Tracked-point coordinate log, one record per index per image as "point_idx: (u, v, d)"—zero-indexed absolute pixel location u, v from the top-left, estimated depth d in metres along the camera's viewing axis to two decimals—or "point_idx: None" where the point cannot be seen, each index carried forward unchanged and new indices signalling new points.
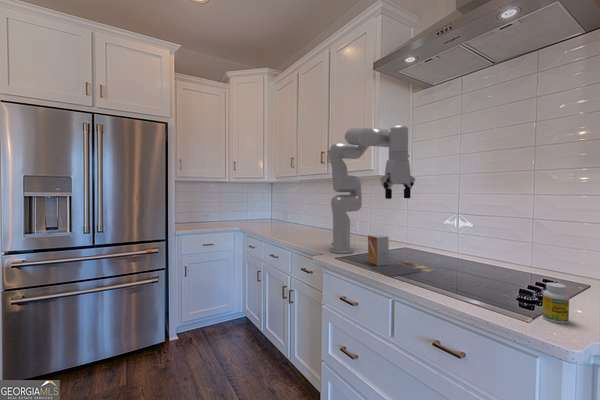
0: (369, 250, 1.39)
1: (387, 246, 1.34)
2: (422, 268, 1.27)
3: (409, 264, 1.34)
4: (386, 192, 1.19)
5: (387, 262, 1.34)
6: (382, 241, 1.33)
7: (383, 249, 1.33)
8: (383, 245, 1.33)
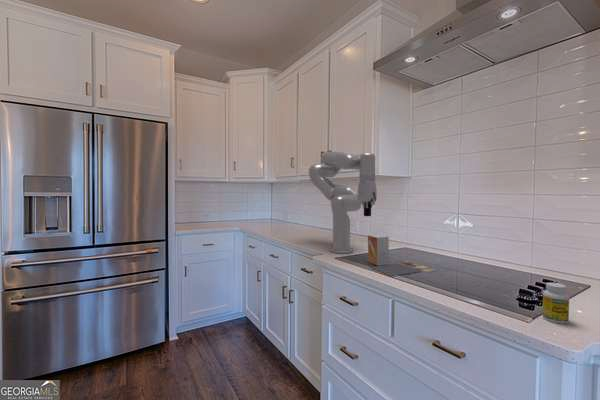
0: (369, 250, 1.39)
1: (387, 246, 1.34)
2: (422, 268, 1.27)
3: (409, 264, 1.34)
4: (369, 211, 1.43)
5: (387, 262, 1.34)
6: (382, 241, 1.33)
7: (383, 249, 1.33)
8: (383, 245, 1.33)
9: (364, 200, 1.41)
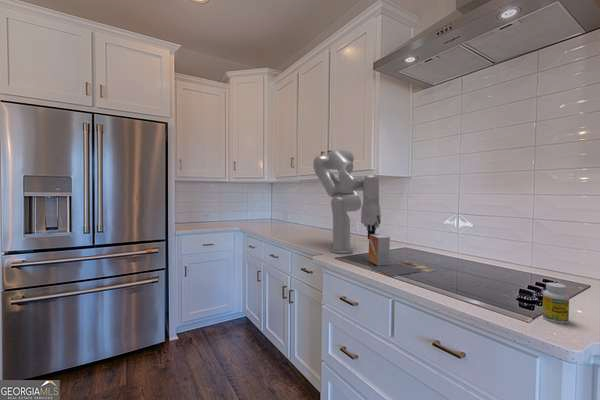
0: (370, 249, 1.38)
1: (388, 246, 1.33)
2: (422, 268, 1.27)
3: (409, 264, 1.34)
4: None
5: (387, 262, 1.34)
6: (383, 241, 1.32)
7: (384, 249, 1.33)
8: (384, 245, 1.32)
9: (368, 223, 1.39)
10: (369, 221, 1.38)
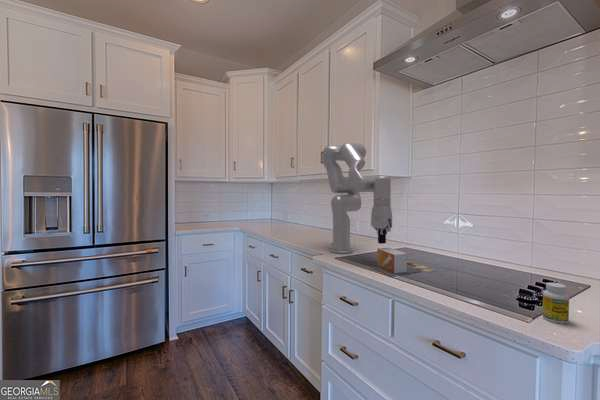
0: (384, 254, 1.27)
1: None
2: (422, 268, 1.27)
3: (409, 264, 1.34)
4: (383, 238, 1.33)
5: None
6: None
7: None
8: None
9: (379, 226, 1.32)
10: (380, 224, 1.31)
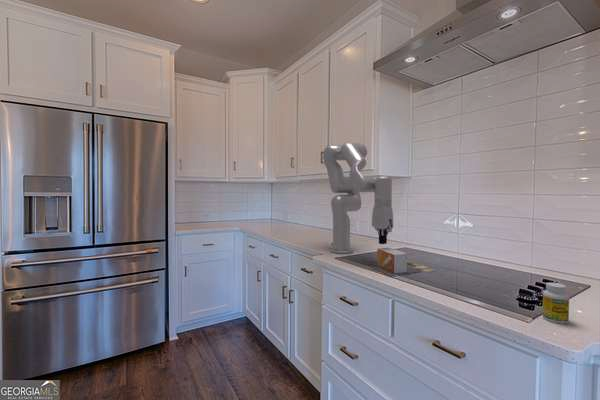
0: (384, 254, 1.27)
1: None
2: (422, 268, 1.27)
3: (409, 264, 1.34)
4: (384, 238, 1.32)
5: None
6: None
7: None
8: None
9: (380, 227, 1.31)
10: (381, 225, 1.30)
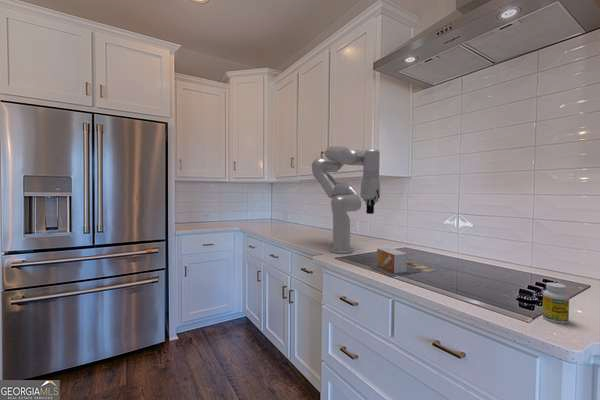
0: (384, 254, 1.27)
1: None
2: (422, 268, 1.27)
3: (409, 264, 1.34)
4: (371, 208, 1.40)
5: None
6: None
7: None
8: None
9: (367, 197, 1.39)
10: (368, 195, 1.38)
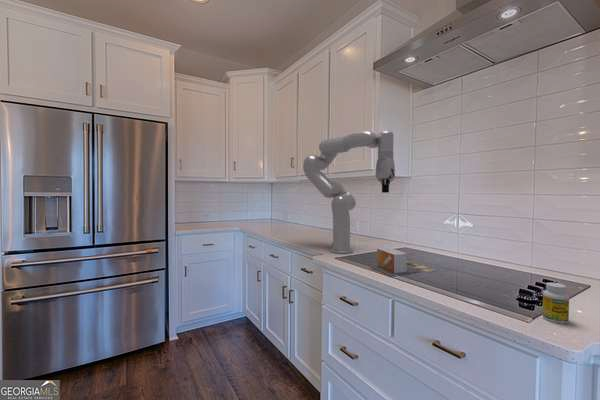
0: (384, 254, 1.27)
1: None
2: (422, 268, 1.27)
3: (409, 264, 1.34)
4: (387, 187, 1.48)
5: None
6: None
7: None
8: None
9: (382, 177, 1.47)
10: (384, 174, 1.46)
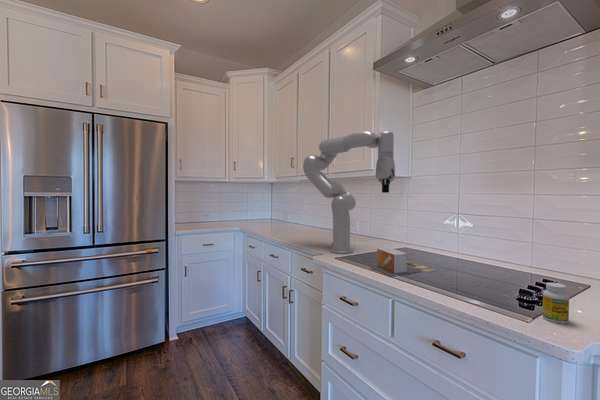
0: (384, 254, 1.27)
1: None
2: (422, 268, 1.27)
3: (409, 264, 1.34)
4: (387, 187, 1.48)
5: None
6: None
7: None
8: None
9: (383, 177, 1.47)
10: (384, 174, 1.46)
